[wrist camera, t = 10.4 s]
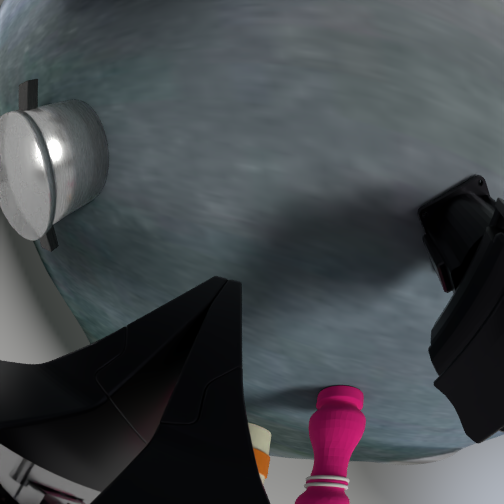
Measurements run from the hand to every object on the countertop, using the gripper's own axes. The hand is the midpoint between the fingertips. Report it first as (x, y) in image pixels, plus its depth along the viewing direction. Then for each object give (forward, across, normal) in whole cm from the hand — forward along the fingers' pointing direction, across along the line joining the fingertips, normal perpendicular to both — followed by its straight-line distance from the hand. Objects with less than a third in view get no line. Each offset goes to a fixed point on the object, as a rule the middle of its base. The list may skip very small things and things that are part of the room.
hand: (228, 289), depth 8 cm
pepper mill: (+13, -12, +26) cm, 32 cm away
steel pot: (+13, +23, 0) cm, 27 cm away
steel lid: (+6, +25, 0) cm, 26 cm away
